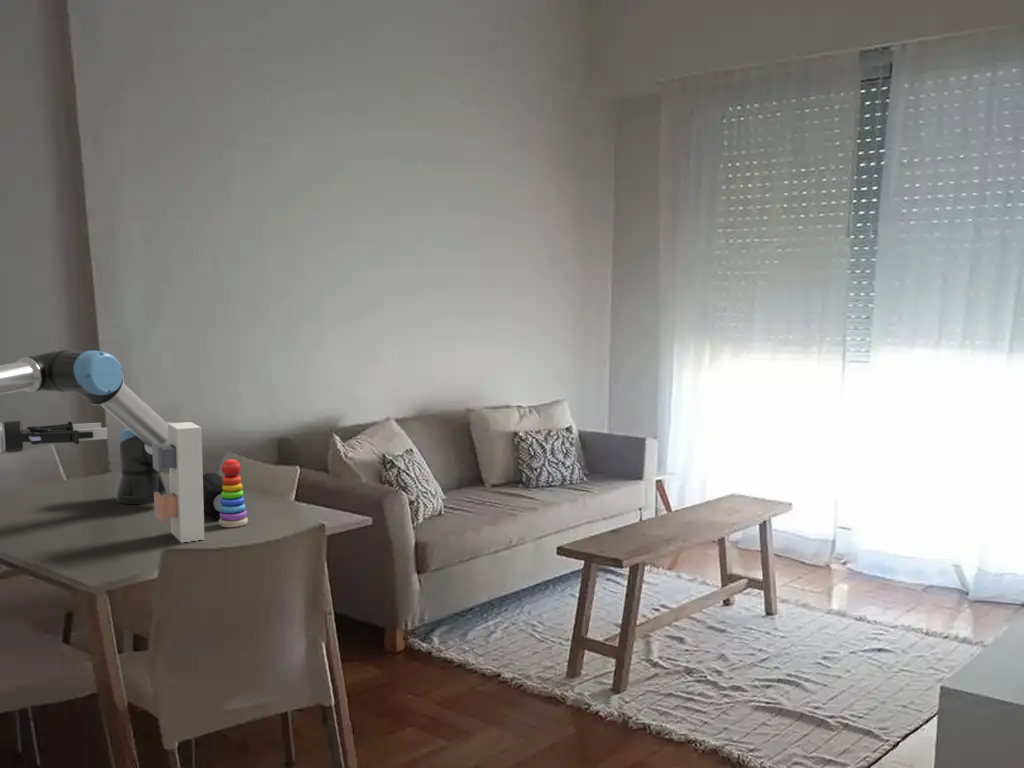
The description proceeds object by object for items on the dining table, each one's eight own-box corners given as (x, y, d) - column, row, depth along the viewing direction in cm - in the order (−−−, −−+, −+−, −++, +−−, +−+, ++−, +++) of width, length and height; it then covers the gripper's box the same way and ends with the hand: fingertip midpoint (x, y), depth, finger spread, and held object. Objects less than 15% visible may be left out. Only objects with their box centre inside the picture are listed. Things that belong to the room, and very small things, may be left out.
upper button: (152, 467, 244) (152, 443, 244) (180, 465, 248) (179, 441, 247) (158, 472, 238) (157, 447, 237) (186, 469, 241) (186, 445, 241)
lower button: (154, 515, 245) (153, 492, 245) (181, 512, 249) (181, 489, 249) (160, 521, 239) (159, 497, 238) (188, 518, 243) (187, 494, 242)
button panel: (171, 533, 250) (167, 423, 247) (193, 530, 253) (190, 421, 251) (180, 543, 240) (177, 429, 237) (204, 540, 243) (201, 427, 240)
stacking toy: (217, 522, 262) (216, 457, 260) (246, 520, 265) (245, 455, 263) (219, 529, 255) (217, 462, 253) (249, 526, 258) (247, 460, 256)
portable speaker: (242, 519, 267) (241, 485, 266) (206, 522, 263) (205, 488, 262) (225, 501, 290) (224, 470, 289) (192, 504, 285) (191, 472, 284)
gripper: (1, 446, 232) (98, 439, 243) (7, 459, 213) (111, 451, 224) (0, 416, 231) (97, 411, 243) (5, 427, 212) (110, 421, 224)
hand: (104, 430), depth 234 cm, fingers open, 10 cm apart
